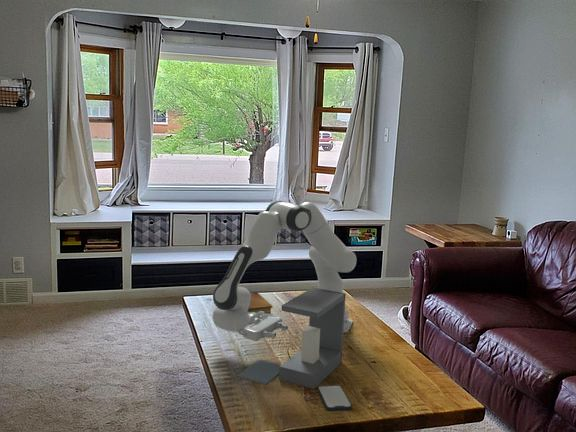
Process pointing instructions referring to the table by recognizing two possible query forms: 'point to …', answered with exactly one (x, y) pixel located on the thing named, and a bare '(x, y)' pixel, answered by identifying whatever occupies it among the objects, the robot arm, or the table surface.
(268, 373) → the mat
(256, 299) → the diary
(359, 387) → the table surface
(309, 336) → the block
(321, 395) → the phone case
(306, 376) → the grey c-shaped bracket
